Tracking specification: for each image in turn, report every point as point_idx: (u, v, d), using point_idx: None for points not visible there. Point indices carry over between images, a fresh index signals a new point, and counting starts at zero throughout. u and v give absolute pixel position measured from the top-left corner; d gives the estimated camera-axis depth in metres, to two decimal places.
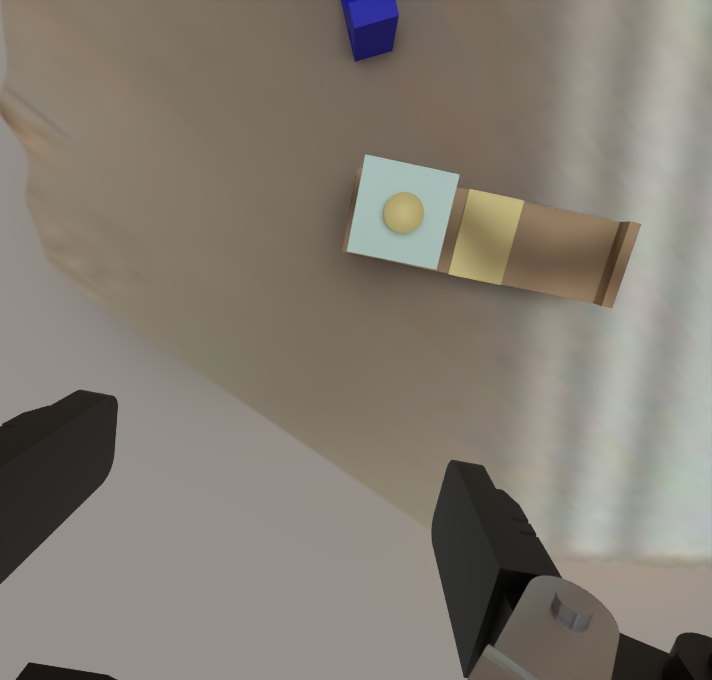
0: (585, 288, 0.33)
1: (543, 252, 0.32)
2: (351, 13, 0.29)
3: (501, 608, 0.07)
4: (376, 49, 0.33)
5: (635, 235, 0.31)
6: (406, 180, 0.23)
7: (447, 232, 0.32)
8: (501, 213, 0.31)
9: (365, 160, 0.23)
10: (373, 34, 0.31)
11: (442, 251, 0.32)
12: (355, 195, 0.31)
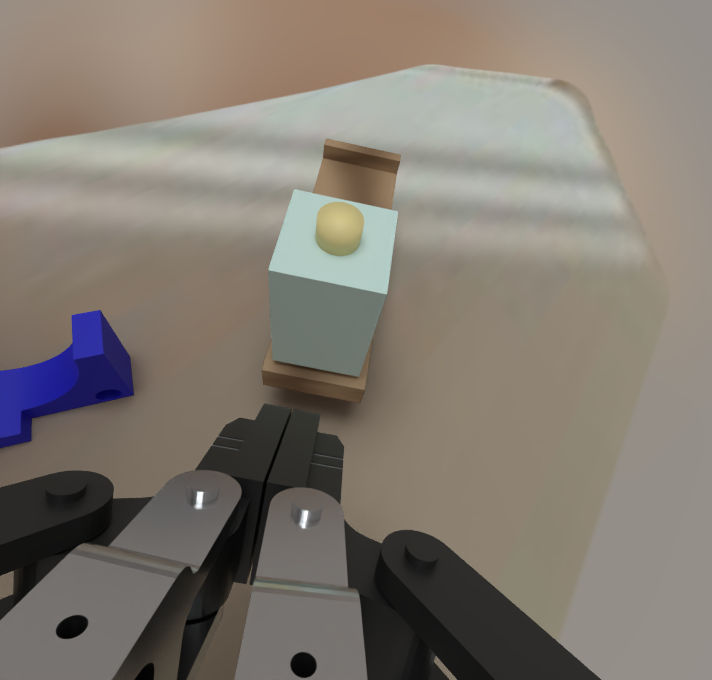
0: (383, 178, 0.35)
1: None
2: (85, 357, 0.24)
3: None
4: (125, 364, 0.29)
5: (336, 141, 0.34)
6: (300, 233, 0.19)
7: None
8: None
9: (275, 269, 0.18)
10: (112, 348, 0.27)
11: None
12: (296, 373, 0.25)
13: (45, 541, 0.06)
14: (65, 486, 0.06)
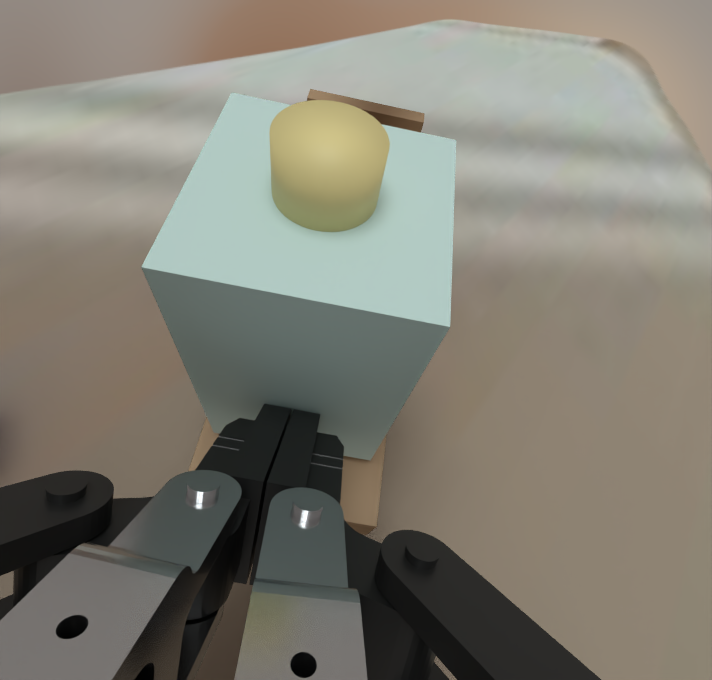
0: None
1: None
2: None
3: None
4: None
5: (325, 93, 0.23)
6: (235, 180, 0.08)
7: None
8: None
9: (161, 265, 0.07)
10: None
11: None
12: None
13: (45, 540, 0.06)
14: (66, 487, 0.06)
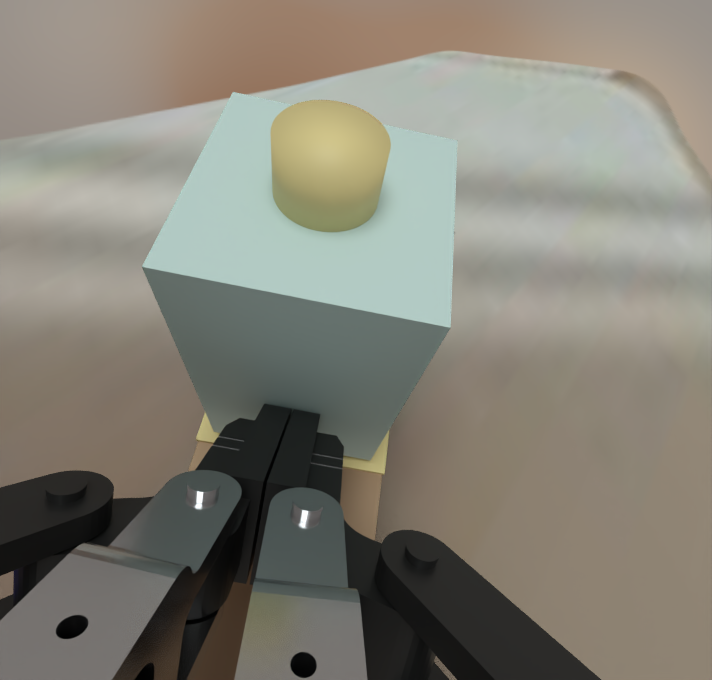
0: None
1: None
2: None
3: None
4: None
5: None
6: (236, 180, 0.08)
7: None
8: None
9: (161, 265, 0.07)
10: None
11: None
12: None
13: (45, 541, 0.06)
14: (66, 486, 0.06)
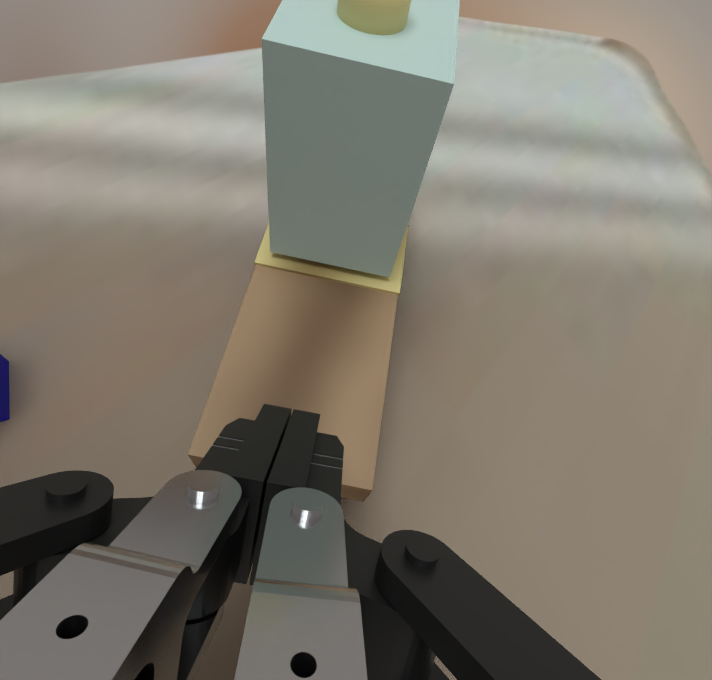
0: None
1: None
2: None
3: None
4: None
5: None
6: (312, 4, 0.12)
7: (327, 294, 0.18)
8: None
9: (274, 38, 0.11)
10: None
11: (360, 302, 0.18)
12: None
13: (45, 541, 0.06)
14: (65, 487, 0.06)
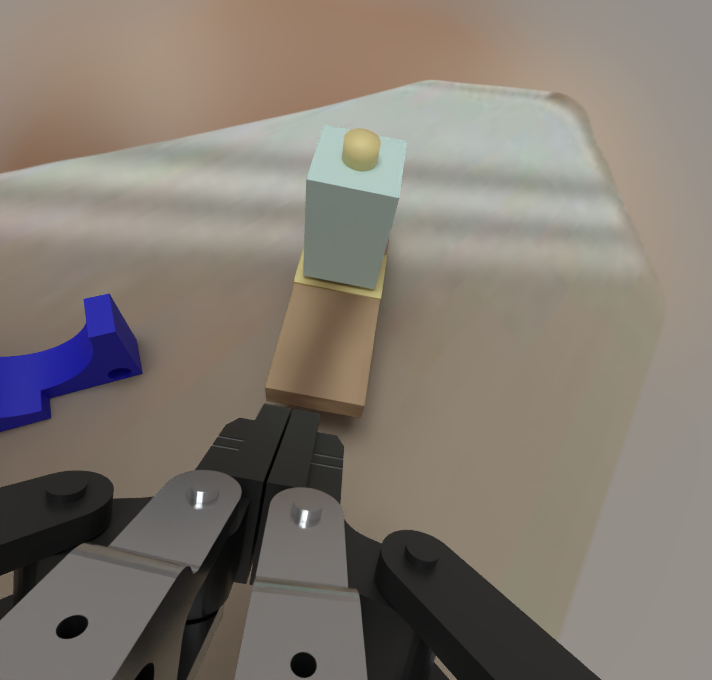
0: None
1: None
2: (99, 335, 0.27)
3: None
4: (133, 345, 0.32)
5: None
6: (329, 154, 0.25)
7: (337, 300, 0.30)
8: None
9: (312, 178, 0.23)
10: (121, 328, 0.29)
11: (357, 304, 0.30)
12: (298, 390, 0.26)
13: (45, 540, 0.06)
14: (65, 487, 0.06)
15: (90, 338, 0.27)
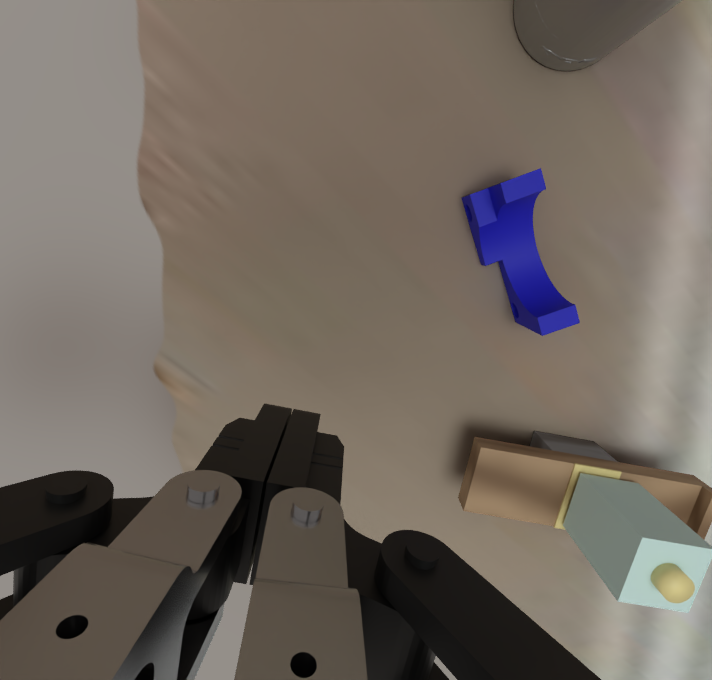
0: None
1: None
2: (539, 324, 0.34)
3: None
4: None
5: None
6: (672, 554, 0.29)
7: (554, 495, 0.37)
8: None
9: (642, 542, 0.28)
10: None
11: (549, 509, 0.38)
12: (477, 468, 0.37)
13: (45, 541, 0.06)
14: (65, 487, 0.06)
15: (537, 318, 0.34)
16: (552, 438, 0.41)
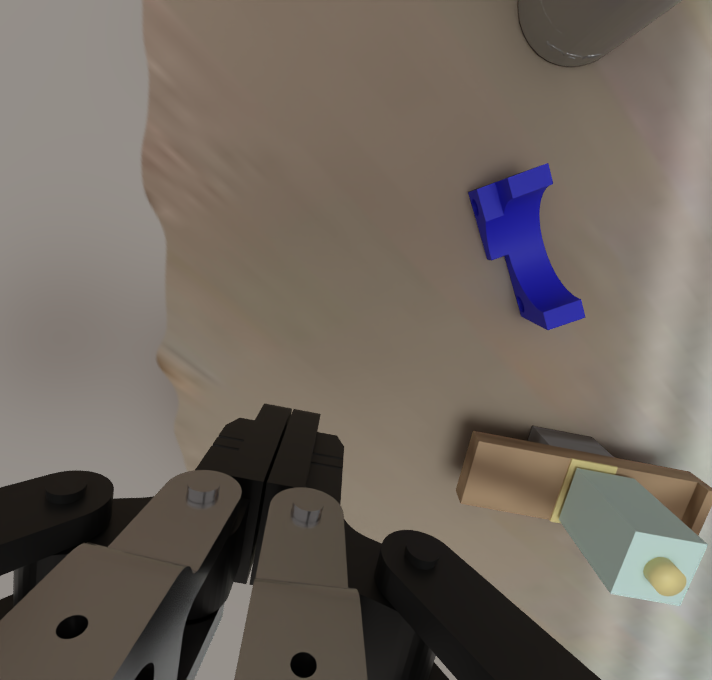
0: None
1: None
2: (545, 318, 0.34)
3: None
4: None
5: None
6: (665, 548, 0.29)
7: (551, 489, 0.38)
8: None
9: (635, 535, 0.29)
10: None
11: (546, 503, 0.38)
12: (475, 462, 0.37)
13: (45, 541, 0.06)
14: (65, 487, 0.06)
15: (542, 313, 0.34)
16: (550, 433, 0.42)
